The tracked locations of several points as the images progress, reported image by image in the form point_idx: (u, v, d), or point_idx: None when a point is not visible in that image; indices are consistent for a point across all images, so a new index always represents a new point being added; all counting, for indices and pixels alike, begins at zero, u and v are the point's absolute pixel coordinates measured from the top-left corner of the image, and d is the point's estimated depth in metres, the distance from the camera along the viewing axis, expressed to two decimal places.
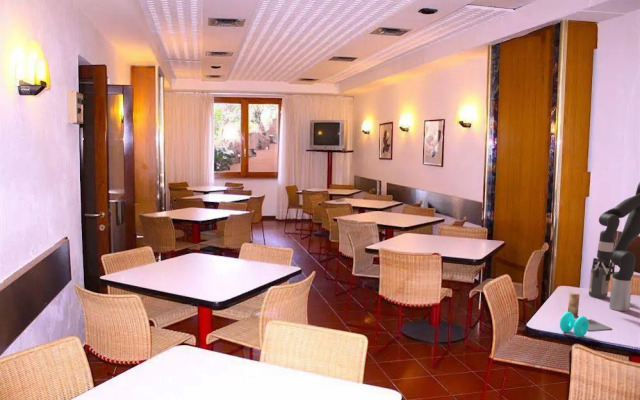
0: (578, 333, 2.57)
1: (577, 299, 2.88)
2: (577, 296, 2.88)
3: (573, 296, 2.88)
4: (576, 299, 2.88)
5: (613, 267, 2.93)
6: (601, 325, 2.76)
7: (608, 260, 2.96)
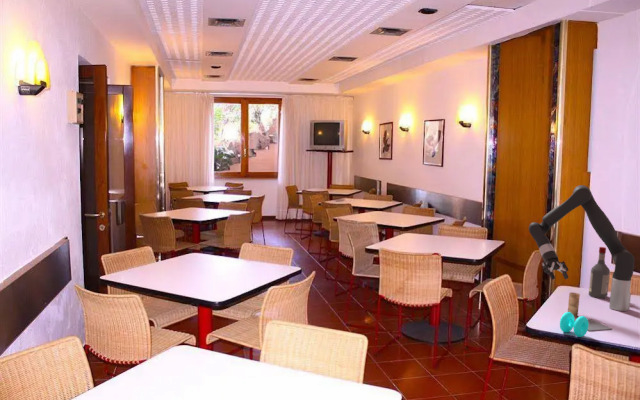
0: (578, 333, 2.57)
1: (577, 299, 2.88)
2: (577, 296, 2.88)
3: (573, 296, 2.88)
4: (576, 299, 2.88)
5: (544, 265, 3.03)
6: (601, 325, 2.76)
7: (546, 261, 3.06)
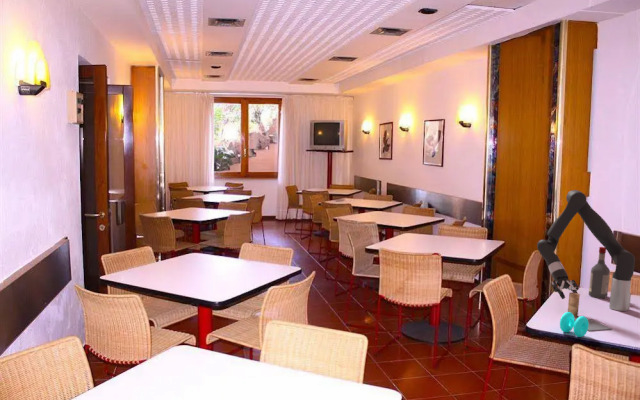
0: (578, 333, 2.57)
1: (577, 299, 2.88)
2: (577, 296, 2.88)
3: (573, 296, 2.88)
4: (576, 299, 2.88)
5: (553, 284, 2.95)
6: (601, 325, 2.76)
7: (555, 280, 2.99)
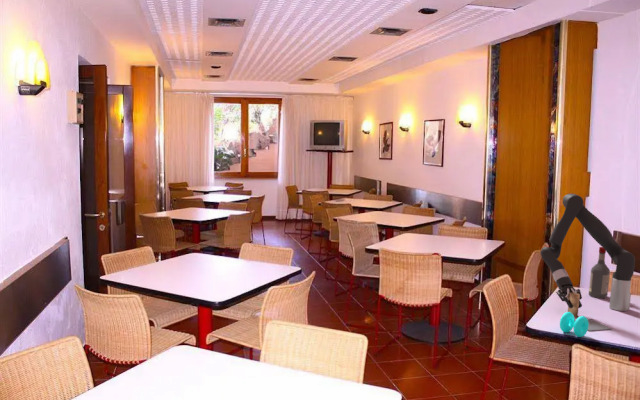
0: (578, 333, 2.57)
1: (577, 299, 2.88)
2: (577, 296, 2.88)
3: (573, 296, 2.88)
4: (576, 299, 2.88)
5: (560, 294, 2.92)
6: (601, 325, 2.76)
7: (560, 288, 2.95)
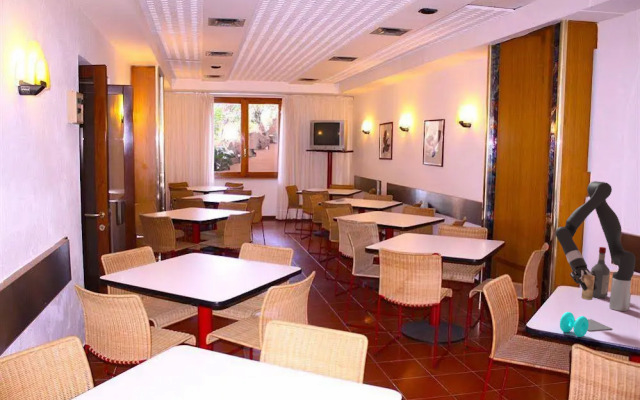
0: (578, 333, 2.57)
1: (592, 281, 2.75)
2: (592, 278, 2.75)
3: (588, 278, 2.76)
4: (591, 281, 2.75)
5: (574, 276, 2.79)
6: (601, 325, 2.76)
7: (573, 269, 2.83)
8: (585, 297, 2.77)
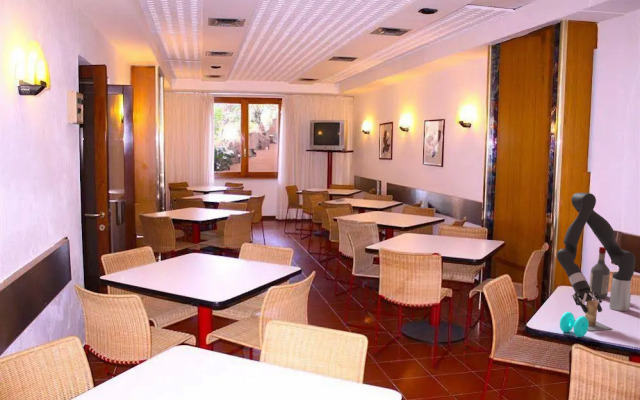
0: (578, 333, 2.57)
1: (595, 307, 2.73)
2: (595, 304, 2.73)
3: (591, 304, 2.73)
4: (594, 307, 2.73)
5: (575, 297, 2.77)
6: (601, 325, 2.76)
7: (577, 292, 2.80)
8: None
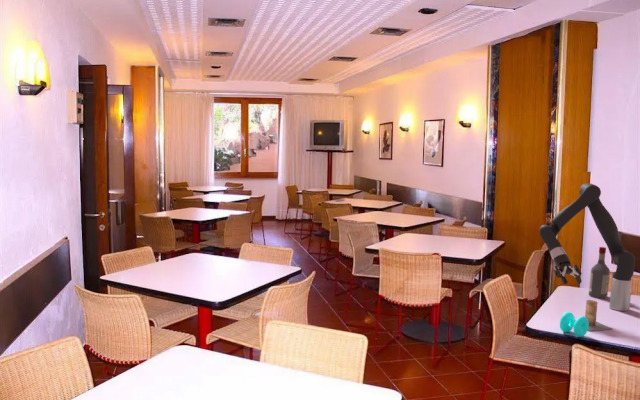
0: (578, 333, 2.57)
1: (595, 307, 2.73)
2: (595, 304, 2.73)
3: (591, 304, 2.73)
4: (594, 307, 2.73)
5: (556, 270, 2.91)
6: (601, 325, 2.76)
7: (557, 265, 2.94)
8: None
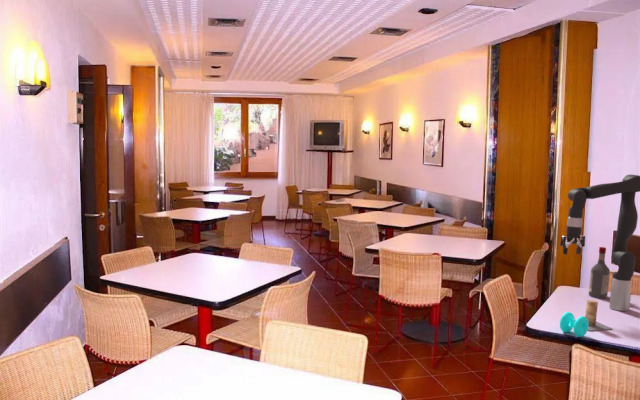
0: (578, 333, 2.57)
1: (595, 307, 2.73)
2: (595, 304, 2.73)
3: (591, 304, 2.73)
4: (594, 307, 2.73)
5: (563, 240, 3.00)
6: (601, 325, 2.76)
7: (567, 234, 3.02)
8: None
